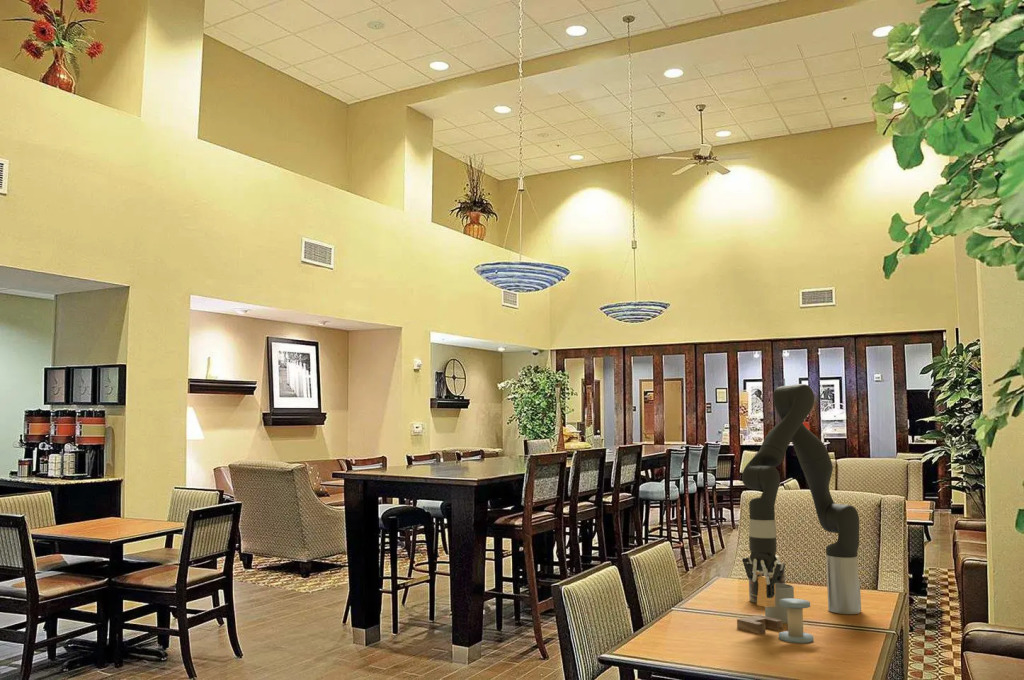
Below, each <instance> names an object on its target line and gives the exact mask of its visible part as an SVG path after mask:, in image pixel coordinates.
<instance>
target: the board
mask: <svg viewBox="0 0 1024 680" xmlns="http://www.w3.org/2000/svg"><path fill="white" fill-rule="evenodd" d="M736 625H737V626H736V628H737V629H739V630H741V631H742V630H743V631H746V632H750V633H755V634H758V635H761V634H762V635H763V634H767V633H766V629H769V628H770V630H773V629H774V631H781V629H782V630H784V626H783V625H784V623H783V622H782V620H779V619H775V618H771V617H766V616H765V615H761V614H758V615H753V616H748V617H743V618H737V619H736Z"/></svg>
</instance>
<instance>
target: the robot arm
mask: <svg viewBox="0 0 1024 680" xmlns="http://www.w3.org/2000/svg"><path fill="white" fill-rule="evenodd" d="M772 395H773V396H772V397H773V399H772V400H773V404H774V408H775V410H776V412H777V414H778V417H779V418H780V421H779V422H778V423H777V424H776V425H775V426H774V427H772V428H771V429H770V431H769V432H768V433H767V435H766V436H765V438H764V439H763V441H762V443H761V446H760V449H759V450H758V452H756V454H754V456H753V457H752V459H750V460H749V462H748V463H747V464H746V465H745V467H744V469H743V471H742V475H741V477H742V479H741V480H742V483H743V485H744V486H745V487H746V488H747V489H750V490H756V491H757V490H758V491H759V490H762V491H763V492H762V494H761V496H760V497H754V498H751V499H750V500H749V503H748V505H749V507H748V509H749V511H748V512H749V524H748V540H749V541H748V542H749V543H748V544H749V546H748V547H749V551H750V555H749V557H743V558H742V563H743V566H744V570H745V573H746V576H747V578H748V580H749V579H752V580H753V582H754V593H755V595H757V590H758V576H762V574H763V573H764V576H765V577H766V583H767V585H766V594H767V598H773V596H774V595H775V591H774V585H775V583H779V582H780V581H781V578H782V575H783V571H784V568H785V567H786V564H785V562H782V563H780V562H781V561H780V562H778V561H777V558H776V556H775V555H777V554H776V553H777V526H776V519H775V518H776V517H775V513H776V512H775V505H776V499H777V495H778V491H779V488H780V484H781V476H780V472H779V471H778V469H777V468H776V467H778V466H780V465H781V463H782V462H783V460H784V457H785V455H786V453H787V450H788V448H789V446H790V443H792V446H793V448H794V451H795V454H796V457H797V459H798V462H799V465H800V468H801V470H802V472H803V475H804V477H805V479H806V482H807V486H808V489H809V491H810V494H811V497H812V501H813V504H814V507H815V508H814V509H815V511H816V516H817V518H818V522H819V524H820V525H821V527H822V529H823V530H824V531H826V532H828V533H831V534H832V533H834V534H838V537H837V540H836V541H835V542H834V543H830V544H827V545H826V546H825V555H826V556H825V559H826V562H825V563H826V582H827V583H826V585H827V608H828V611H829V612H831V613H835V614H839V615H840V614H841V615H857V614H860V612H862V599H861V598H862V595H861V580H859V563H858V561H859V560H858V559H859V557H858V550H859V546H860V516H859V512H858V510H857V509H856V507H854V506H853V505H850V504H844V503H843V504H842V503H835V501H834V499H833V497H832V495H831V492H830V483H831V479H832V474H833V469H834V467H833V462H832V459H831V456H830V453H829V451H828V449H827V448H828V447H827V446H826V445H825V443H823V441H822V440H821V439H820V438H819V437H818V436H817V435H815V434H814V433H813V432H812V431H811V430H810V429H809V428H808V427H806V425H805V424H804V422H805V420H806V419H807V417H808V416H809V414H810V412H812V409H813V408H814V404H815V394H814V391H813V390H812V388H811V387H810V385H808V384H803V383H798V384H796V383H795V384H789V385H781V386H778V387H776V388H775V389H774V391H773V394H772ZM752 563H753V564H752ZM774 566H775V567H774ZM774 568H775V571H774ZM785 569H786V568H785ZM750 571H751V572H750ZM768 572H770V573H768ZM770 578H771V580H770Z"/></svg>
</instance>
